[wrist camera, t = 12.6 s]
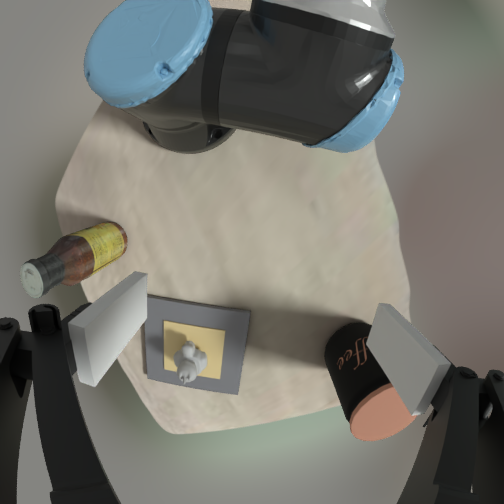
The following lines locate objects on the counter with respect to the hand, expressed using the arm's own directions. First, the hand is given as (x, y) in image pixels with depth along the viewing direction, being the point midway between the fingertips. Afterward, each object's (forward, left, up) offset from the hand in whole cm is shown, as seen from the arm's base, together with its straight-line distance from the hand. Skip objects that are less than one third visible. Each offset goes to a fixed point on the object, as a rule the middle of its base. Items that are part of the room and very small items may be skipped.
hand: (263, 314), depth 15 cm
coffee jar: (+17, +19, -27) cm, 37 cm away
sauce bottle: (+4, -23, -27) cm, 36 cm away
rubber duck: (+20, -8, -26) cm, 34 cm away
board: (+20, -8, -27) cm, 35 cm away
